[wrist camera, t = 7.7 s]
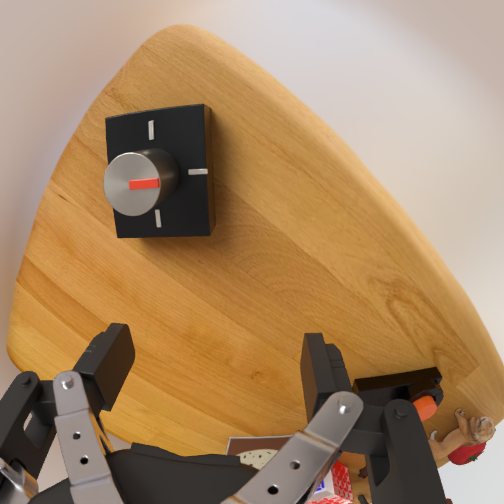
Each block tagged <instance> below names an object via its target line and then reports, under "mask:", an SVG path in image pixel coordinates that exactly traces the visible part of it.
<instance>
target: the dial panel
mask: <svg viewBox="0 0 504 504" xmlns="http://www.w3.org/2000/svg"><path fill="white" fill-rule="evenodd" d="M105 122H106V142H107V156H108V166H109V164H110V163H111V162H112V161H113V160H114V159H115V158H116V157H117V156H119V155H121V154H124V153H129V152H135V151H140V150H146V149H154V148H156V149H162V150H164V151H166V152H168V153H169V154H171V155H172V156H173V158H174V159H175V160H176V162H177V164H178V167H179V182H178V185H177V187H176V189H175V190H174V192H173V193H172V194H171V195H170V196H168V197H167V198H166V199H164V200H163V201H161V202H160V203H159V204H157V205H156V206H154V207H153V208H152V209H150V210H149V211H147V212H146V213H144V214H141V215H138V216H128V215H124V214H122V213H120V212H118V211H117V210H115V209H114V208H113V212H114V219H115V225H116V232H117V238H146V237H189V236H210V235H211V233H212V231H213V229H214V227H215V225H216V221H215V204H214V185H213V163H212V138H211V108H210V107H208V106H206V105H204V104H196V105H186V106H176V107H168V108H160V109H153V110H146V111H140V112H134V113H128V114H122V115H117V116H112V117H107V118H105Z"/></svg>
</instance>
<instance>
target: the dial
mask: <svg viewBox="0 0 504 504" xmlns="http://www.w3.org/2000/svg"><path fill="white" fill-rule="evenodd" d="M178 182H179V167H178V164H177V162H176V160H175V159H174V158H173V156H172V155H171V154H169V153H168V152H166V151H164V150H162V149H156V148H154V149H146V150H140V151H135V152H129V153H124V154H121V155H119V156H117V157H116V158H115V159H114V160H113V161H112V162H111V163H110V164H109V166H108V167H107V169H106V172H105V175H104V180H103V187H104V192H105V196H106V198H107V200H108V202H109V203H110V205H111V206H112V207H113V208H114V209H115V210H117V211H118V212H120V213H122V214H124V215H128V216H138V215H141V214H144V213H146V212H147V211H149V210H150V209H152V208H153V207H154V206H156V205H157V204H159V203H160V202H161V201H163V200H164V199H166V198H167V197H168V196H170V195H171V194H172V193H173V192H174V190H175V189H176V187H177V185H178Z"/></svg>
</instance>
